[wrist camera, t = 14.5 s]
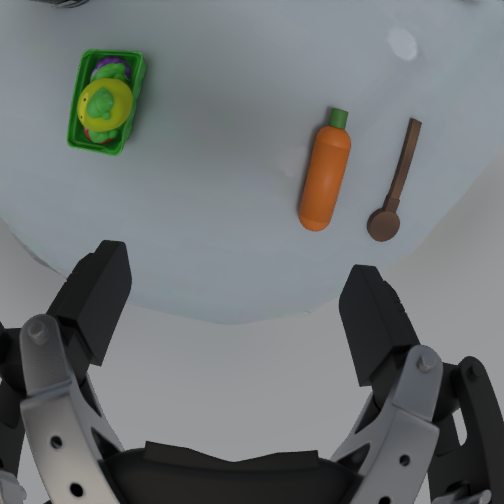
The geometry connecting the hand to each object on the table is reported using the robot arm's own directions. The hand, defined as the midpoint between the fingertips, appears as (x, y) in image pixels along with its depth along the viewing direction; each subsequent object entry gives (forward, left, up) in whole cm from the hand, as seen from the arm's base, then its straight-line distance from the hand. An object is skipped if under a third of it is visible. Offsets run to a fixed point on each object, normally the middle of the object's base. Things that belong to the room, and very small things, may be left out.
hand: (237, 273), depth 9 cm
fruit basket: (-4, -15, -24) cm, 29 cm away
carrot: (+3, +9, -24) cm, 26 cm away
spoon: (+2, +20, -24) cm, 31 cm away
